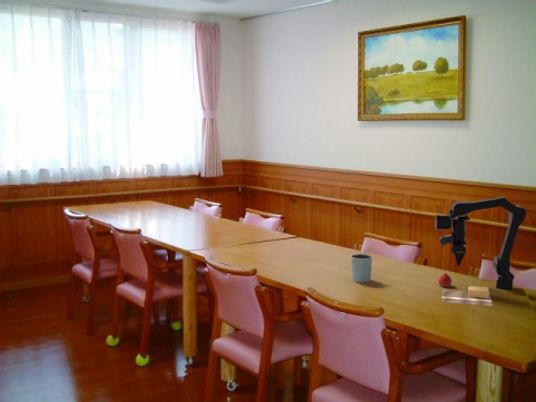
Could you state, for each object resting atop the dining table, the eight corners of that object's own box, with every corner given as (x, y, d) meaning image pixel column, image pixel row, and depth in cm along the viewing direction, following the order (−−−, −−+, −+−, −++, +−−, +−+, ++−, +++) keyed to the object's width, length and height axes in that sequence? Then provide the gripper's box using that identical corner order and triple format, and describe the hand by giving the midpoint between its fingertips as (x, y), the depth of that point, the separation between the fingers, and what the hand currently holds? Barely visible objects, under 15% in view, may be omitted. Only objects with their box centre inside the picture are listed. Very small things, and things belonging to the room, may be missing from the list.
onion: (448, 287, 273) (449, 270, 272) (453, 290, 268) (453, 273, 267) (436, 287, 273) (437, 270, 272) (440, 290, 268) (441, 273, 266)
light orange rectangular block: (487, 294, 257) (487, 287, 257) (488, 298, 252) (488, 291, 251) (468, 292, 260) (468, 286, 259) (468, 296, 254) (469, 289, 254)
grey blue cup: (371, 283, 280) (371, 259, 278) (349, 282, 282) (350, 258, 280) (371, 278, 289) (372, 254, 288) (351, 277, 291) (351, 253, 290)
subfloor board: (489, 296, 258) (489, 293, 258) (492, 309, 241) (492, 306, 241) (442, 293, 264) (442, 289, 264) (441, 305, 247) (441, 301, 247)
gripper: (440, 225, 277) (440, 257, 279) (439, 233, 260) (439, 267, 262) (465, 226, 274) (465, 258, 276) (466, 233, 256) (465, 268, 258)
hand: (458, 263), depth 268 cm, fingers open, 9 cm apart
